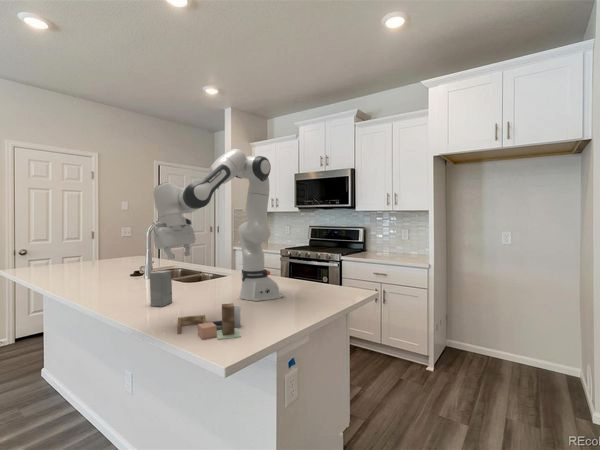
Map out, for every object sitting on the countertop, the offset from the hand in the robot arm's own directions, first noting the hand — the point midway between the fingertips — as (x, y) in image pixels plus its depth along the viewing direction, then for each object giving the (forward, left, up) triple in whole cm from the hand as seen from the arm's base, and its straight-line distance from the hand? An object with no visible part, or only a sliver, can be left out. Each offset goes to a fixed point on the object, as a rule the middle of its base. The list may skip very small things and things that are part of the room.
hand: (180, 257), depth 129 cm
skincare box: (+9, -30, -26) cm, 41 cm away
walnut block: (-16, +19, -25) cm, 35 cm away
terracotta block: (-9, +18, -26) cm, 33 cm away
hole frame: (-13, +11, -26) cm, 31 cm away
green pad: (-16, +19, -26) cm, 36 cm away
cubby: (-4, +8, -26) cm, 27 cm away
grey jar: (-20, +11, -26) cm, 34 cm away
